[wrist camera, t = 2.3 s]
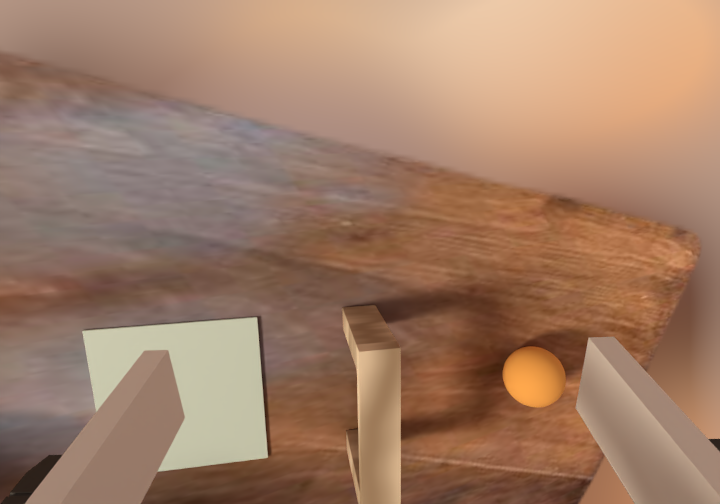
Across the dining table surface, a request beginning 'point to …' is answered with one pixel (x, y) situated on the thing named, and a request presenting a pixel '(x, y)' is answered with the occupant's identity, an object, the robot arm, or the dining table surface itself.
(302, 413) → the dining table surface
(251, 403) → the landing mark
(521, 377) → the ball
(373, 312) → the bridge
